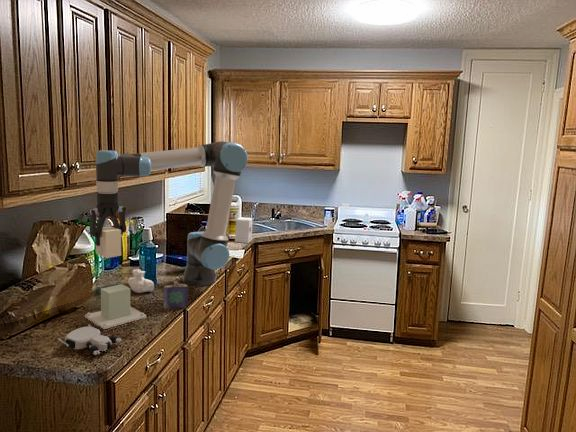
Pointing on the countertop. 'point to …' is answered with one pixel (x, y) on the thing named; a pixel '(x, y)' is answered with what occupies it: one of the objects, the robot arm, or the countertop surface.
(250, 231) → the supplement box
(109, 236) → the cream brick
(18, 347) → the countertop surface
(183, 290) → the flask
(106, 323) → the baseplate
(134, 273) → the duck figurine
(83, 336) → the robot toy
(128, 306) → the sage brick
